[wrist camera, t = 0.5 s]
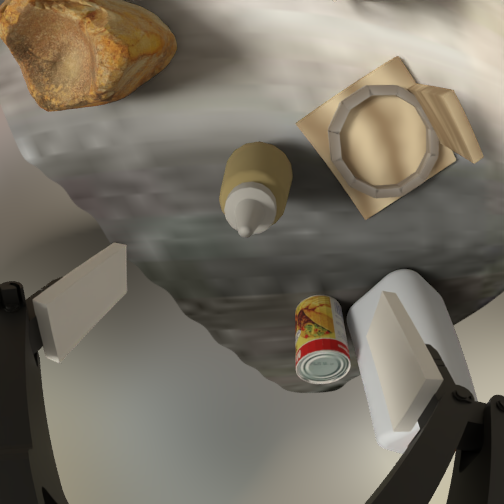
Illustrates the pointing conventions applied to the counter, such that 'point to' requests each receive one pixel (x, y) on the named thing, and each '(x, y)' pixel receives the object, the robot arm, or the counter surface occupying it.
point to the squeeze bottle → (255, 187)
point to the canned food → (321, 340)
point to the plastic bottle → (431, 331)
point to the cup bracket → (389, 135)
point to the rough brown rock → (84, 49)
